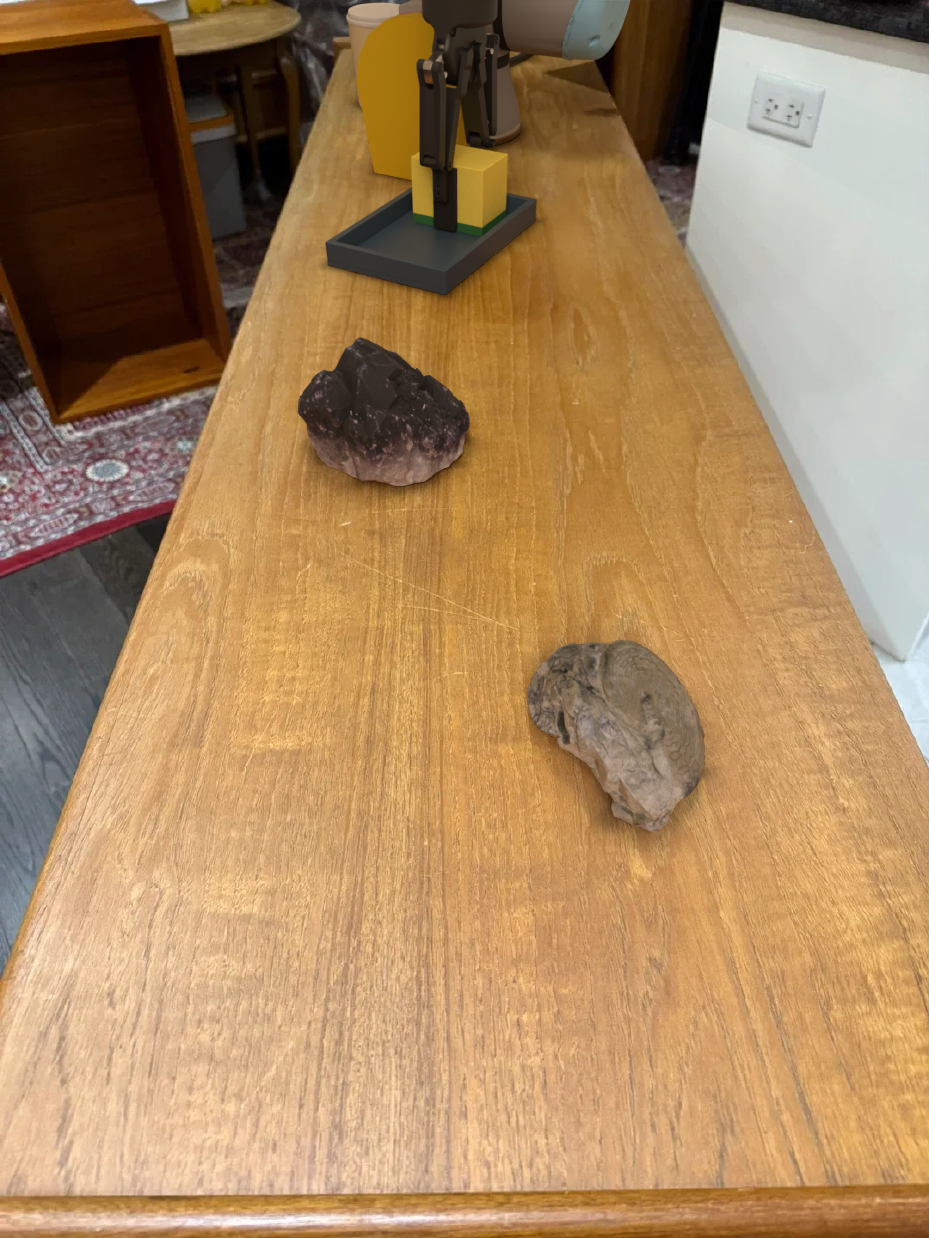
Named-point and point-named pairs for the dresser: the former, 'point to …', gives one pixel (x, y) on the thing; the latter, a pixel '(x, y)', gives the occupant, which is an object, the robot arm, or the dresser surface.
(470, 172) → the sponge
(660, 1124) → the dresser surface
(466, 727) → the dresser surface
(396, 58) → the yellow arched slab
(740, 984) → the dresser surface
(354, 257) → the tray
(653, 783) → the fossilized seashell
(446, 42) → the robot arm
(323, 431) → the crystal cluster
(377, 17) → the coffee cup
